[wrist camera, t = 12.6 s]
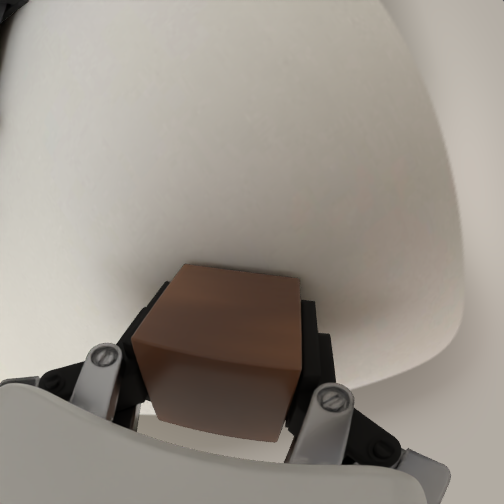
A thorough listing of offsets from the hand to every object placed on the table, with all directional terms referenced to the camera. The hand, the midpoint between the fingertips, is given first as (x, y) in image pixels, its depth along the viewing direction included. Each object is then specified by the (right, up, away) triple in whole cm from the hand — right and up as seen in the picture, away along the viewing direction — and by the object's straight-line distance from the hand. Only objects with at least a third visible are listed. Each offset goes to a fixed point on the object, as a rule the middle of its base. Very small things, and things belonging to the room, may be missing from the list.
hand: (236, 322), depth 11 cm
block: (0, 0, 0) cm, 0 cm away
